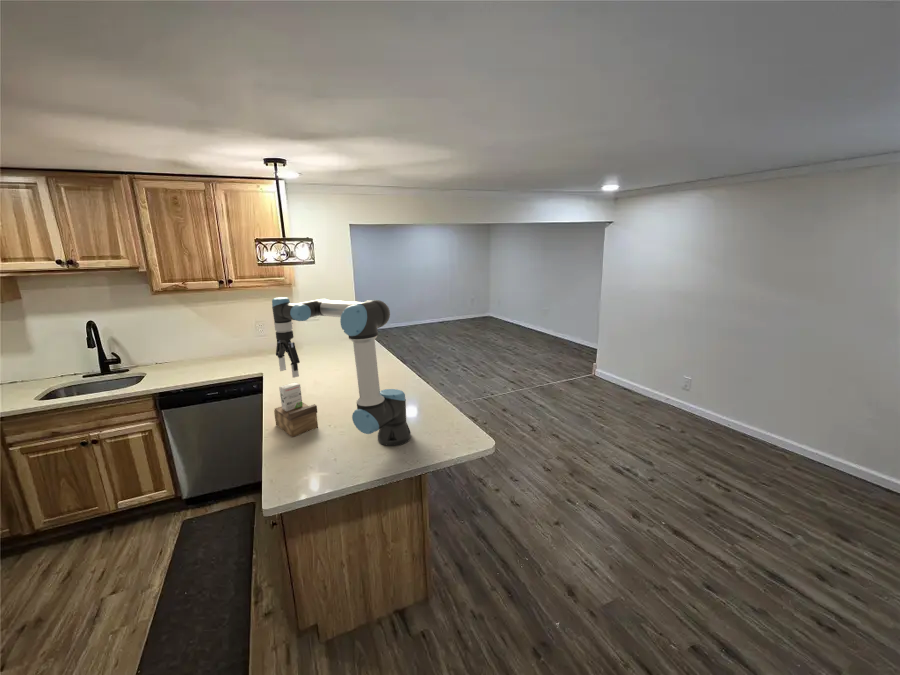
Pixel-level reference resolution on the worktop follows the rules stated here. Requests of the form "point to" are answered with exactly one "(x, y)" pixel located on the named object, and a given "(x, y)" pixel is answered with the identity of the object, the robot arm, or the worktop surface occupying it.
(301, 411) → the lid
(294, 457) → the worktop surface
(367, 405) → the robot arm
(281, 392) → the ink box
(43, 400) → the worktop surface
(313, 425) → the crate
